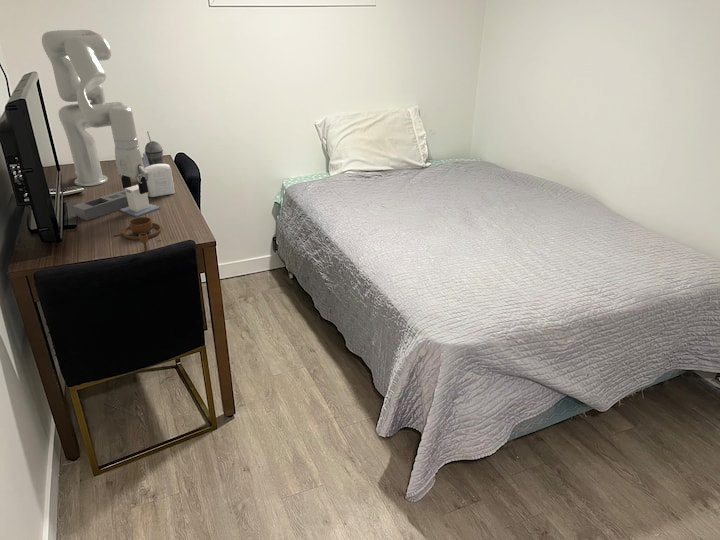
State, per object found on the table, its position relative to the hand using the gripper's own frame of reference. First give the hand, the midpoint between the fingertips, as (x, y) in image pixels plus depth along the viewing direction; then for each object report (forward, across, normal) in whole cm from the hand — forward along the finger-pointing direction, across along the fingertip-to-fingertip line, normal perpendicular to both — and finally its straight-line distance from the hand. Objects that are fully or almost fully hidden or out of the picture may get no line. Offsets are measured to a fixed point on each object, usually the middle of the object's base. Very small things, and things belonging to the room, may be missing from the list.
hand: (135, 190), depth 188 cm
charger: (+7, 0, 0) cm, 7 cm away
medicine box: (+8, -36, +34) cm, 51 cm away
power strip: (+8, -10, -5) cm, 13 cm away
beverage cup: (+8, -26, +28) cm, 39 cm away
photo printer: (+8, -6, +15) cm, 18 cm away
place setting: (+8, +21, -16) cm, 27 cm away
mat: (+7, 0, 0) cm, 8 cm away
